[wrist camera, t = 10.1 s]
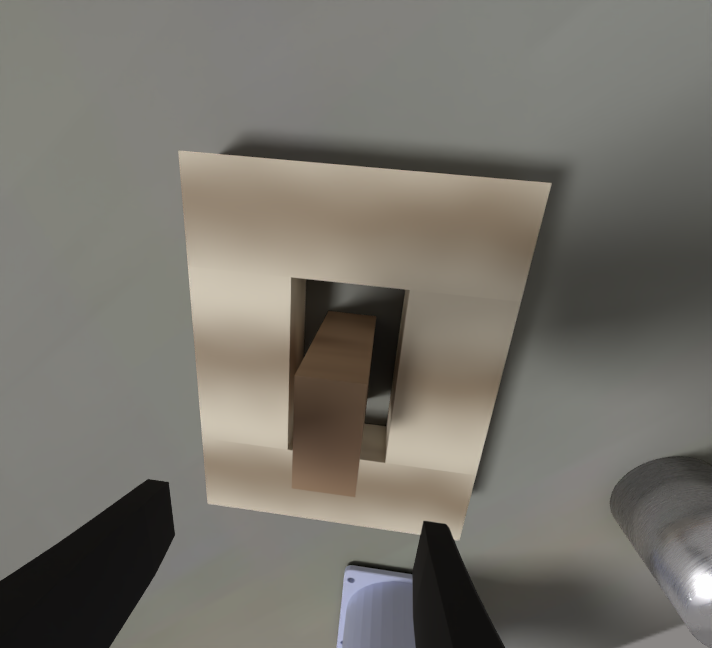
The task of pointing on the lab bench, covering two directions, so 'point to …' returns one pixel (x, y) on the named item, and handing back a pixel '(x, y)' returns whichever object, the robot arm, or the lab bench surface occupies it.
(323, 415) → the walnut bar
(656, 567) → the cylinder
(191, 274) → the slot plate
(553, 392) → the lab bench surface
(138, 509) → the robot arm
